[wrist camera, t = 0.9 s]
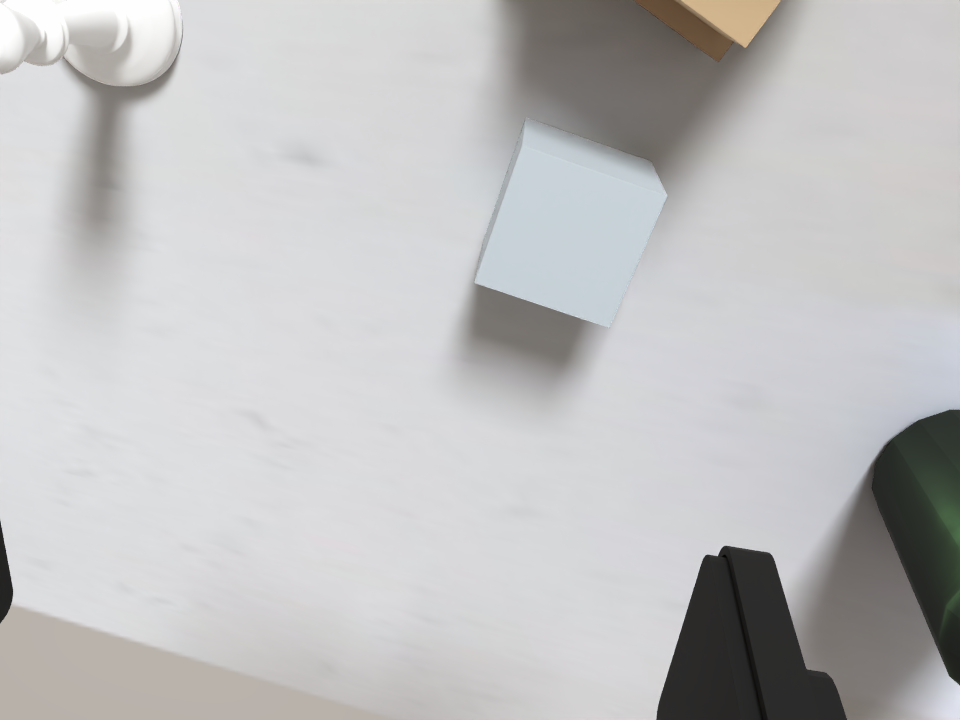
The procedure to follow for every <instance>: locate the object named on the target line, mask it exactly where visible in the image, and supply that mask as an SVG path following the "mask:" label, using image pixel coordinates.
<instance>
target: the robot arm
mask: <svg viewBox="0 0 960 720" xmlns="http://www.w3.org/2000/svg"><path fill="white" fill-rule="evenodd" d="M12 598H13V587H12V582H11V576H10V571H9V565H8V560H7V555H6V549H5V544H4V538H3V533H2V528H1V522H0V623H1V622H2V620H3V619H4V617H5V616H6V615H7V613H8V610H9V609H10V606H11V603H12ZM657 720H847V718H846V715H845V712H844V709H843V706H842V703H841V700H840V697H839V694H838V691H837V689H836V686H835V684H834V682H833V680H832V678H831V677H830V676H829V675H828V674H827V673H825V672H819V671H813V670H807V669H806V667H805V663H804V660H803V657H802V653H801V650H800V646H799V643H798V640H797V636H796V633H795V629H794V626H793V622H792V619H791V616H790V612H789V609H788V605H787V602H786V598H785V595H784V592H783V588H782V585H781V581H780V578H779V574H778V571H777V568H776V564H775V561H774V559H773V556H772V555H771V554H770V553H767V552H761V551H755V550H749V549H742V548H736V547H730V546H724V547H723V548H722V549H721V550H720V553H719V555H718V556H713V555H706V556H705V557H704V558H703V561H702V564H701V567H700V570H699V573H698V577H697V580H696V583H695V587H694V590H693V593H692V596H691V600H690V603H689V606H688V609H687V613H686V616H685V619H684V622H683V626H682V629H681V632H680V635H679V639H678V642H677V645H676V648H675V652H674V655H673V658H672V662H671V665H670V668H669V671H668V675H667V678H666V681H665V684H664V688H663V691H662V694H661V697H660V701H659V705H658V711H657Z"/></svg>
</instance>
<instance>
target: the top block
mask: <svg viewBox="0 0 960 720" xmlns="http://www.w3.org/2000/svg"><path fill="white" fill-rule="evenodd" d="M674 1H676V2H677V3H678V4H680V5H681V6H683V7H684V8H685V9H687V10H688V11H689V12H691V13H692V14H693V15H695V16H696V17H698V18H699V19H700V20H702V21H703V22H704V23H706V24H707V25H708V26H710V27H711V28H713V29H714V30H715V31H717V32H718V33H719V34H721V35H722V36H724V37H726V38H728V39H729V40H731V41H733V42H735V43H737V44H739V45H741V46H743V47H745V48H746V47H747V46H748V44H749V43H750V42H751V40H752V39H753V38H754V36H755V35H756V34H757V32H758V31H759V29H760V28H761V27H762V25H763V24H764V23H765V21H766V20H767V19H768V17H769V16H770V15H771V13H772V12H773V11H774V9H775V8H776V7H777V5H778V4H779V3H780V1H781V0H674Z"/></svg>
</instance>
